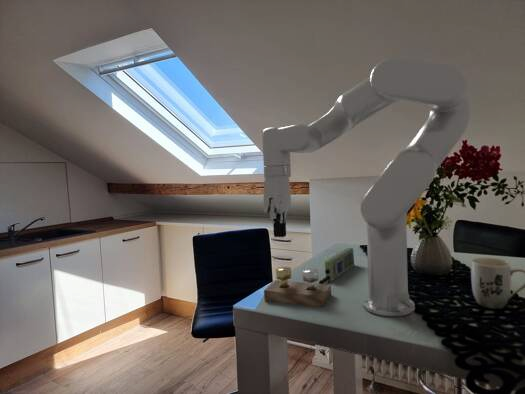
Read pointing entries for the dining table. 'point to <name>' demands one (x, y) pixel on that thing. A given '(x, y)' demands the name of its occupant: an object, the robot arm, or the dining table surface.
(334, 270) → the handheld radio
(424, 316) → the dining table surface
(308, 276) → the steel knob
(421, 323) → the dining table surface
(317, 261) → the dining table surface
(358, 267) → the dining table surface
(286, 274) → the brass knob
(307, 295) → the panel
